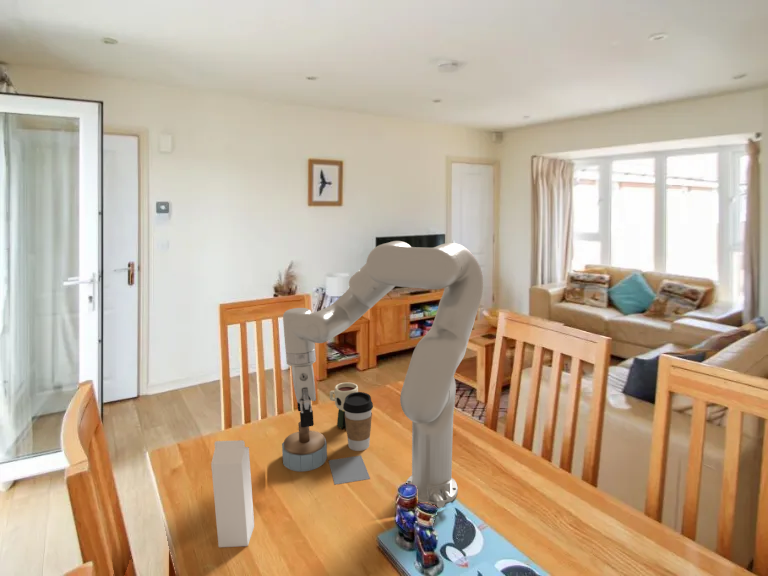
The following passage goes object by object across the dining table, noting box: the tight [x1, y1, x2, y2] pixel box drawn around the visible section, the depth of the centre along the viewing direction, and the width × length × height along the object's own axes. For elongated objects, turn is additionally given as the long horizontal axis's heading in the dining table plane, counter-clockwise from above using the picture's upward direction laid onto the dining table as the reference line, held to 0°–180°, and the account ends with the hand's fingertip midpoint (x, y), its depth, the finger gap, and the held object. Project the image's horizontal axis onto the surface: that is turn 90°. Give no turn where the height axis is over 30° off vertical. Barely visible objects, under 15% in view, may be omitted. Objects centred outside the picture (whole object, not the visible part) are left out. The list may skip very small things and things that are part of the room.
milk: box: [210, 439, 255, 548], centre depth 95 cm, size 6×6×22 cm
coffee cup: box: [343, 391, 374, 452], centre depth 131 cm, size 8×8×15 cm
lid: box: [283, 421, 326, 455], centre depth 124 cm, size 11×11×6 cm
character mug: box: [329, 382, 359, 430], centre depth 143 cm, size 11×7×13 cm, turn 76°
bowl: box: [281, 439, 328, 472], centre depth 125 cm, size 12×12×5 cm
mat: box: [328, 455, 371, 485], centre depth 120 cm, size 11×9×1 cm
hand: (305, 417), depth 123 cm, fingers open, 9 cm apart
